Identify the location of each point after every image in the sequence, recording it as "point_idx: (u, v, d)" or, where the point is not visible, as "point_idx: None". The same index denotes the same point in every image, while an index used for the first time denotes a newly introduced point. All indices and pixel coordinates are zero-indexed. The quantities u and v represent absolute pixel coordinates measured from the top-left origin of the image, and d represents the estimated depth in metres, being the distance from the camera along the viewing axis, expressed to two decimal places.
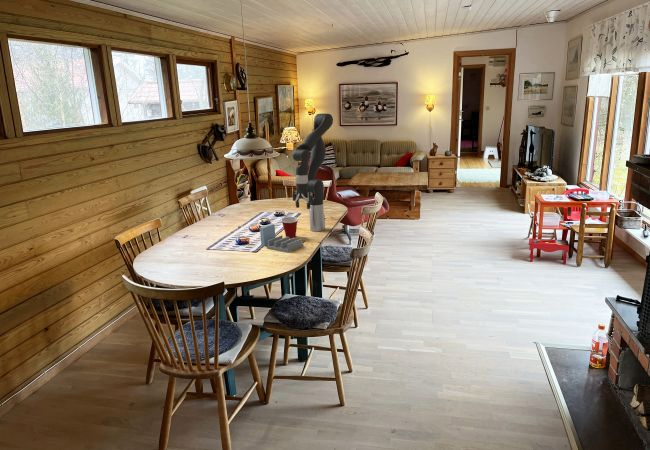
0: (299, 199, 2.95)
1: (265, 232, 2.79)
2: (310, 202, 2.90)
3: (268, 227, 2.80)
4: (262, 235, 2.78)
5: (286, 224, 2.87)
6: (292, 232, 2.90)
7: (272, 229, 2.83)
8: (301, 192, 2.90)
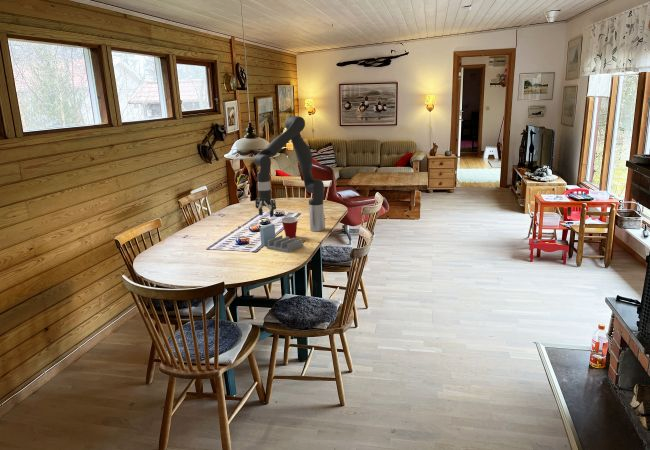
0: (262, 206, 2.81)
1: (265, 232, 2.79)
2: (273, 210, 2.76)
3: (268, 227, 2.80)
4: (262, 235, 2.78)
5: (286, 224, 2.87)
6: (292, 232, 2.90)
7: (272, 229, 2.83)
8: (264, 199, 2.76)
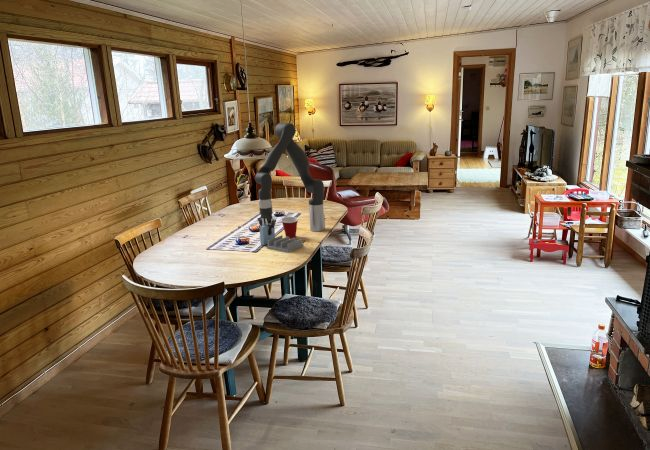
0: None
1: (265, 231, 2.78)
2: (271, 228, 2.80)
3: None
4: (262, 234, 2.78)
5: (286, 224, 2.87)
6: (292, 232, 2.90)
7: (272, 228, 2.83)
8: (265, 216, 2.79)
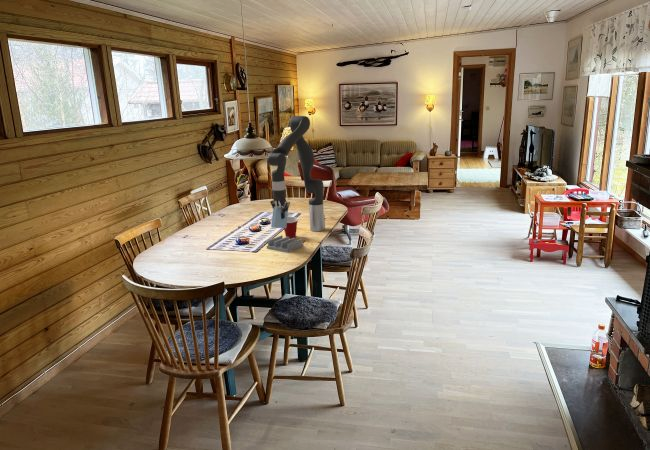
0: (280, 208, 2.71)
1: (278, 213, 2.67)
2: (284, 211, 2.69)
3: None
4: (274, 216, 2.66)
5: None
6: (292, 232, 2.90)
7: (285, 213, 2.72)
8: (278, 199, 2.68)
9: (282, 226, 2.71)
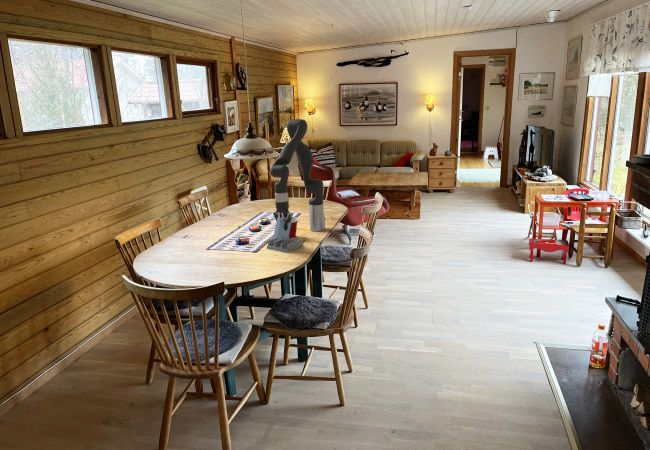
0: (282, 219, 2.72)
1: (281, 224, 2.68)
2: (287, 223, 2.70)
3: None
4: (277, 226, 2.67)
5: None
6: (292, 232, 2.90)
7: (288, 226, 2.73)
8: (281, 211, 2.68)
9: (284, 238, 2.71)
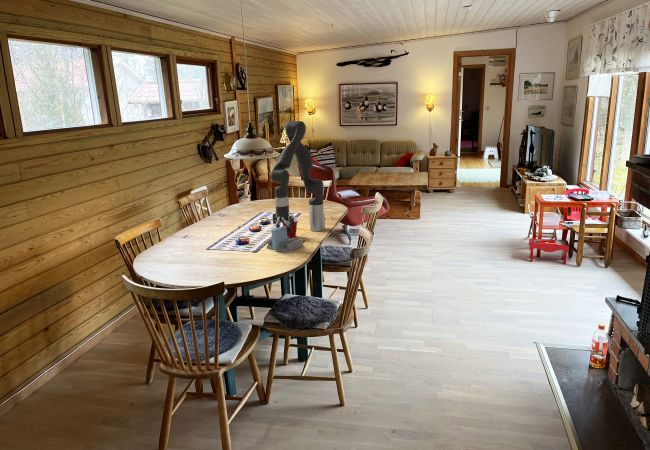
0: None
1: (277, 234, 2.66)
2: (291, 226, 2.69)
3: (280, 229, 2.68)
4: (273, 238, 2.65)
5: (286, 224, 2.87)
6: (292, 232, 2.90)
7: (284, 231, 2.71)
8: (281, 215, 2.69)
9: None
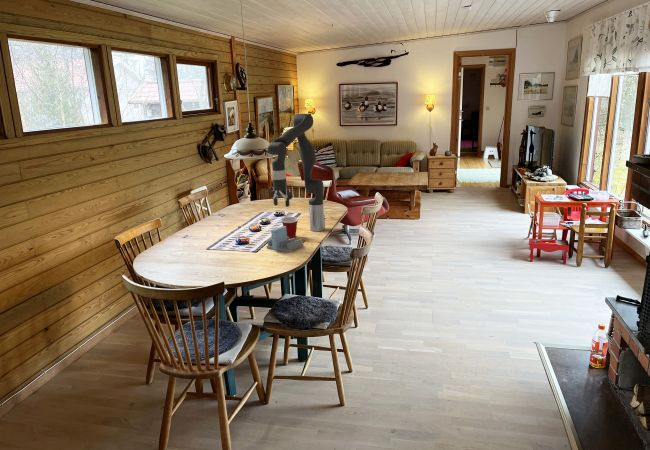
0: (277, 196, 2.72)
1: (277, 235, 2.66)
2: (289, 199, 2.67)
3: (280, 229, 2.68)
4: (273, 238, 2.65)
5: (286, 224, 2.87)
6: (292, 232, 2.90)
7: (284, 231, 2.71)
8: (279, 189, 2.67)
9: None
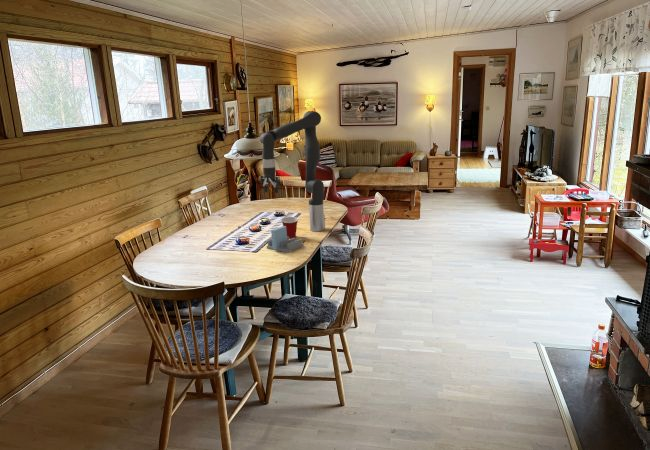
0: (267, 183, 2.92)
1: (277, 235, 2.66)
2: None
3: (280, 229, 2.68)
4: (273, 238, 2.65)
5: (286, 224, 2.87)
6: (292, 232, 2.90)
7: (284, 231, 2.71)
8: (268, 176, 2.87)
9: None
